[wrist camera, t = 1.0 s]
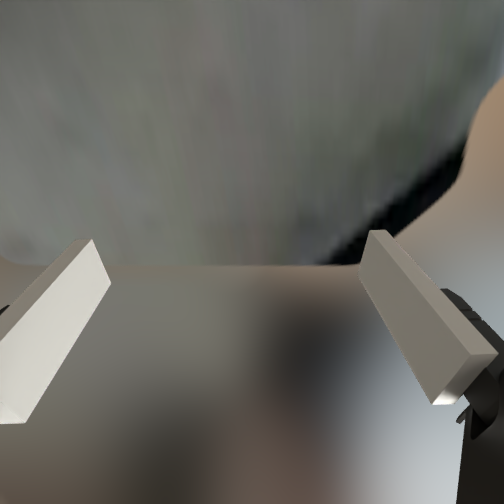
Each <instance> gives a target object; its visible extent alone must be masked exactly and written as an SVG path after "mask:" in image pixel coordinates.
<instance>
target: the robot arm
mask: <svg viewBox="0 0 504 504" xmlns="http://www.w3.org/2000/svg"><path fill="white" fill-rule="evenodd" d="M358 277H359V279H360V280H361V282H362V284H363V286H364V287H365V289H366V291H367V293H368V294H369V296H370V298H371V299H372V301H373V303H374V305H375V307H376V308H377V310H378V312H379V313H380V315H381V317H382V319H383V320H384V322H385V324H386V325H387V328H388V329H389V331H390V333H391V334H392V336H393V338H394V340H395V341H396V343H397V345H398V347H399V348H400V350H401V352H402V354H403V355H404V357H405V359H406V361H407V363H408V364H409V366H410V367H411V369H412V371H413V373H414V375H415V376H416V378H417V380H418V382H419V383H420V385H421V387H422V389H423V390H424V392H425V394H426V396H427V397H428V399H429V401H430V403H431V404H432V405H439V404H455V403H456V402H457V401H458V399H459V398H460V397H461V396H462V395H463V394H464V396H465V397H466V399H467V400H468V402H469V403H470V405H469V406H468V407H467V408H466V409H465V410H464V411H463V412H462V413H461V414H460V415H459V417H458V418H457V420H456V422H457V423H459V424H460V423H461V422H462V421H463V420H464V419H465V427H464V436H463V445H462V454H461V464H460V473H459V482H458V491H457V500H456V504H504V341H503V340H502V339H501V338H500V337H499V336H498V334H496V332H495V331H494V330H492V328H491V327H490V326H489V325H488V324H487V323H486V322H485V321H484V320H483V321H482V320H481V317H480V316H479V315H478V314H477V313H476V312H475V311H472V308H471V307H470V306H469V305H468V304H467V303H466V302H465V301H464V300H463V299H462V298H461V297H460V296H458V295H457V294H455V293H453V292H452V291H450V290H449V289H439V288H438V287H437V285H436V284H435V283H434V282H433V281H432V280H431V279H430V278H429V277H428V276H427V275H426V273H425V272H424V271H423V270H422V269H421V268H420V267H419V266H418V265H417V264H416V263H415V261H414V260H413V259H412V258H411V257H410V256H409V255H408V254H407V253H406V252H405V251H404V249H403V248H402V247H401V246H400V245H399V244H398V243H397V242H396V241H395V240H394V238H393V237H392V236H391V235H390V234H389V233H388V232H387V231H386V230H370V231H369V235H368V239H367V242H366V246H365V249H364V253H363V257H362V260H361V264H360V267H359V271H358ZM110 284H111V282H110V280H109V278H108V275H107V273H106V271H105V268H104V266H103V264H102V261H101V259H100V257H99V254H98V252H97V250H96V247H95V245H94V243H93V241H92V239H81V240H75V241H74V242H73V243H72V244H71V245H70V246H69V247H68V248H67V249H66V250H65V251H64V252H63V253H62V254H61V255H60V256H59V257H58V258H57V259H56V260H55V261H54V262H53V263H52V264H51V265H50V266H49V267H48V268H47V269H46V270H45V271H44V272H43V273H42V274H41V275H40V276H39V277H38V278H37V279H36V280H35V281H34V282H33V283H32V284H31V285H30V286H29V287H28V288H27V289H26V290H25V291H24V292H23V293H22V294H21V295H20V296H19V297H18V298H17V299H16V300H15V301H14V302H13V303H12V304H11V305H7V306H6V307H4V308H2V309H1V310H0V424H9V423H10V424H11V423H25V422H26V421H27V419H28V417H29V416H30V414H31V412H32V411H33V409H34V408H35V406H36V405H37V403H38V401H39V400H40V398H41V396H42V395H43V393H44V392H45V390H46V388H47V387H48V385H49V383H50V382H51V380H52V379H53V377H54V375H55V374H56V372H57V370H58V369H59V367H60V366H61V364H62V362H63V361H64V359H65V357H66V356H67V354H68V353H69V351H70V349H71V348H72V346H73V344H74V343H75V341H76V340H77V338H78V336H79V335H80V333H81V331H82V330H83V328H84V327H85V325H86V323H87V321H88V320H89V319H90V317H91V315H92V314H93V312H94V310H95V309H96V307H97V306H98V304H99V302H100V301H101V299H102V297H103V296H104V294H105V292H106V291H107V289H108V287H109V286H110Z"/></svg>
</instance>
